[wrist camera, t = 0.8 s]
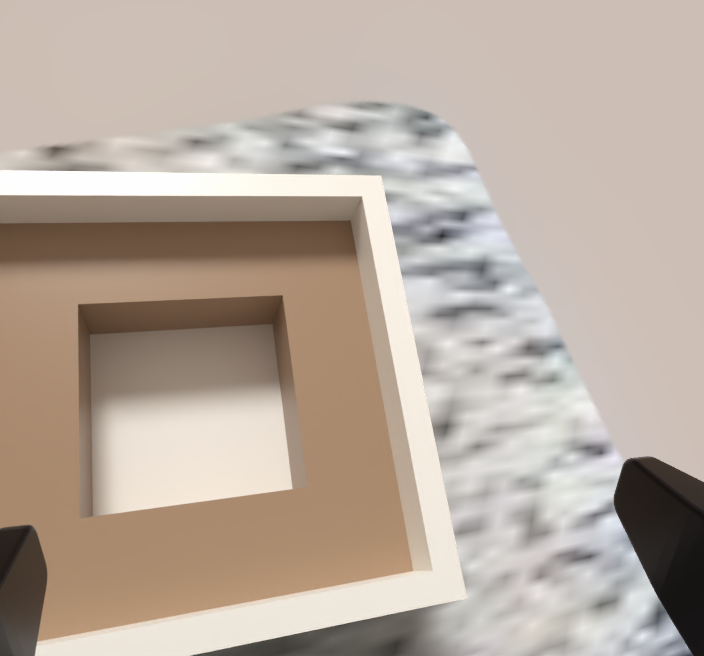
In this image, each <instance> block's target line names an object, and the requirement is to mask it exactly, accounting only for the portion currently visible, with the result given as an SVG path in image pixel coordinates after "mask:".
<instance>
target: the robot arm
mask: <svg viewBox="0 0 704 656" xmlns="http://www.w3.org/2000/svg"><path fill="white" fill-rule="evenodd" d="M614 506H615V510H616V513H617V515H618V517H619V519H620V521H621V523H622V525H623V527H624V529H625V531H626V533H627V535H628V537H629V540H630V542H631V544H632V546H633V548H634V550H635V552H636V554H637V556H638V558H639V560H640V562H641V564H642V566H643V568H644V570H645V572H646V574H647V577H648V579H649V581H650V583H651V585H652V587H653V588H654V590H655V592H656V594H657V596H658V598H659V600H660V601H661V603H662V605H663V607H664V608H665V610H666V612H667V613H668V615H669V617H670V618H671V620H672V622H673V623H674V625H675V627H676V628H677V630H678V631H679V633H680V635H681V636H682V638H683V640H684V641H685V643H686V645H687V646H688V648H689V650H690V651H691V653H692V654H693V656H704V482H702V481H700V480H698V479H696V478H694V477H692V476H690V475H688V474H686V473H684V472H682V471H680V470H678V469H676V468H674V467H672V466H670V465H668V464H666V463H664V462H662V461H660V460H658V459H656V458H654V457H638V458H630V459H628V460H626V461H625V463H624V464H623V466H622V470H621V473H620V477H619V480H618V484H617V487H616V490H615V494H614ZM47 577H48V575H47V565H46V561H45V558H44V555H43V551H42V548H41V544H40V541H39V537H38V534H37V531H36V529H35V528H34V526H32V525H19V526H10V527H4V528H1V529H0V656H35V652H36V646H37V640H38V634H39V628H40V622H41V616H42V610H43V604H44V598H45V593H46V587H47Z"/></svg>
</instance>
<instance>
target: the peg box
mask: <svg viewBox="0 0 704 656" xmlns="http://www.w3.org/2000/svg"><path fill="white" fill-rule="evenodd" d="M19 525H32V526H34V528H35V529H36V531H37V534H38V537H39V541H40V544H41V548H42V551H43V555H44V558H45V561H46V565H47V575H48V577H47V587H46V593H45V598H44V604H43V610H42V616H41V622H40V628H39V634H38V640H37V646H36V652H35V656H191V655H196V654H201V653H206V652H211V651H216V650H220V649H225V648H230V647H235V646H240V645H245V644H249V643H254V642H259V641H264V640H269V639H273V638H278V637H283V636H288V635H293V634H298V633H302V632H307V631H312V630H317V629H322V628H327V627H331V626H336V625H341V624H346V623H351V622H355V621H360V620H365V619H370V618H375V617H380V616H384V615H389V614H394V613H399V612H404V611H409V610H413V609H418V608H423V607H428V606H433V605H437V604H442V603H447V602H452V601H457V600H462V599H466V598H467V596H466V591H465V586H464V581H463V576H462V571H461V566H460V561H459V556H458V551H457V546H456V542H455V537H454V532H453V527H452V522H451V517H450V512H449V507H448V502H447V497H446V492H445V487H444V483H443V478H442V473H441V468H440V463H439V458H438V453H437V448H436V443H435V438H434V433H433V428H432V424H431V419H430V414H429V409H428V404H427V399H426V394H425V389H424V384H423V379H422V374H421V369H420V365H419V360H418V355H417V350H416V345H415V340H414V335H413V330H412V325H411V320H410V315H409V310H408V306H407V301H406V296H405V291H404V286H403V281H402V276H401V271H400V266H399V261H398V256H397V251H396V247H395V242H394V237H393V232H392V227H391V222H390V217H389V212H388V207H387V202H386V197H385V192H384V188H383V183H382V178H381V176H363V175H291V174H220V173H149V172H78V171H7V170H0V529H1V528H4V527H10V526H19Z"/></svg>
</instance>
